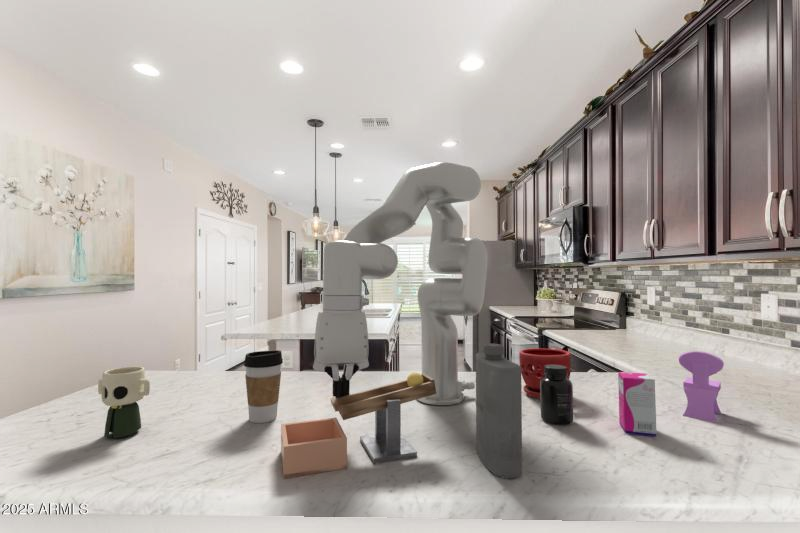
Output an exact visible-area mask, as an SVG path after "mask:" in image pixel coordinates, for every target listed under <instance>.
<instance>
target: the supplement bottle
mask: <svg viewBox="0 0 800 533" xmlns="http://www.w3.org/2000/svg"><path fill="white" fill-rule="evenodd" d="M544 374H545V377H543V378H542V379H541V381H540V399H539V400H540V418H541V419H542V421H544V422H545V423H547V424H551V425H555V426H568V425H572V424H573V422H574V389H573V387H574V386H573V382H572V381H571V379H570V378H569V379H568V378H567V377H566V376H568V373H567V367H566V366H562V365H545V366H544Z"/></svg>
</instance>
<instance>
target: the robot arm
mask: <svg viewBox="0 0 800 533" xmlns="http://www.w3.org/2000/svg"><path fill="white" fill-rule="evenodd" d="M481 188H482V182H481V178H480V175H479V174H478V172H477V171H476V170H475V169H474V168H472V167H470V166H466V165H462V164H457V163H452V162H446V161H438V162H433V163H430V164H429V163H428V164H424V165H420V166H416V167H411V168H410V169H408V170H407V171H405V172H404V173H403V174H402V176H401V178H400V179H399V180H398V182H397V183H396V185H395V186H394V188H393V189H392V191H391V192H390V194H388V196H387V198H386V200H385V202H384V203H383V204H382V205H381V206H380V207H378V208H377V209H376V210H374V211H373V212H371V213H369V215H368V216H366V217H364V218H363V219H362V220H361V221H359V222H358V223H357V224H356V225H354V226H353V227H352V228H351V230H349V231H348V233H347V234H346V236H345V237H344V239H343V240H332V241H328V242H327V243H326V244H325V246H324V250H323V275H322V276H323V277H322V278H323V279H322V280H323V285H322V288H323V289H322V310H319V311H318V312H317V318H316V322H315V324H316V325H315V332H314V346H313V348H314V349H313V357H314V362H313V364H312V369H313V370H314V371H317V372H322V373H326V374H327V375H328V376H329V377H330V378H332V398H334V397H335V398H340V397H343V396H347V395H349V394H350V388H351V387H350V382H351V381H350V380H352V378H353V376H354V375H355V374H356V373H357V372H358V371H359V370H363V369H367V368H368V367H369V366H370V362H369V359H368V358H369V351H370V350H369V347H370V346H369V331H368V330H369V329H368V322H367V316H366V312H365V311H364V310H363V308H364V307H365V306H369V305H370V299H369V298H365V297H364V296H363V280H382V279H386V278H389V277H391V275H393V274H394V273H395V271H397V268H398V264H399V260H398V254H397V253H396V251H395V250H394V249H393V247H391V246H389V245H388V244H386V243H383V242H384V241H387V240H390V239H392V238H395V237H397V236H400V235H401V234H403V233H406V232H407V231H409V230H410V229H412V228H413V227H414V226H415V223H416V221H417V220H418V218H419V216H420V215H421V213H422V211H423V210H424V207H426V209H427V210H428V213H429V215H430V218H431V226H432V227H431V235H430V242H429V250H428V260H427V261H428V267H429V269H430V270H431V271H432V272H433V273H436V274H440V275H441V274H442V275H462V276H461V277H462V278H454V277H453V278H452V277H437V278H434V277H433V278H429V279H427V280H425V281H423V282H422V283H421V284H420V286H419V287H418V290H417V302H418V307H419V308H418V309H419V313H420V320H421V323H420V325H421V326H420V327H421V374H423V373H424V374H426V375H428V376H429V377H431V378H433V379H434V381H435V388H436V394H434V395H431V396H427V397H424V398H420V399H417V400H416V401H419V402H420V403H423V404H426V405H427V404H428V405H433V406H451V405H457V404H459V403H462V402H463V401H464V398H465V395H464V394H465V393H464V391H465V390H474V389H475V388H476V384H475V382H474V381H465V380H460V379H458V378H459V373H458V372H459V371H458V370H459V369H458V368H459V366H458V364H459V362H458V360H459V354H458V353H459V352H458V351H459V350H458V347H459V346H458V345H459V344H458V343H459V341H458V339H459V338H458V337H459V334H458V328H457V326H456V322H455V321H454V319H453V317H452V316H460V317H474V316H476V315H478V314H479V313H480V312H481V310H482V308H483V305H484V300H485V291H486V283H487V282H486V281H487V271H488V251H487V248H486V245H485V243H484V242H483V241H482V240H481V239H480V238H477V237H469V236H468V237H463V232H464V221H463V219H462V217H461V215H460V213H459V212H458V211H457V210H456V208H454V206H453V205H452V204H456V203H463V202H471V201H473V200H476V198H477V197H478V196H479V194H480V192H481ZM339 365H343V372H342V374H341V376H340V372H339Z"/></svg>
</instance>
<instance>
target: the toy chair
mask: <svg viewBox="0 0 800 533" xmlns="http://www.w3.org/2000/svg"><path fill="white" fill-rule="evenodd" d="M678 362H679V364H680V366H681V367H683V369H685V370H686V371H687V372H690V373H691V374H692V377H690V376H687V377H686V379H684V381H683V383H682V384H683V386H682V387H683V388H682V389H683V392H684V394H685V396H686V399H687V405H686V408H685V411H684V413H683V414H682V415H683V417H688V418H693V419H696V420H697V419H698V420H701V421H706V422H713V423H719V421H718V418H717V416H716V414H721V413H722V412H721V410H720V407H719V404H718V400H717V398H718V396H719V393H720V390H721V388H722V386H721V384H722V383H721V381H719V380H718V381H717V380H710V376H713V375H716V374H717V373H718V372H721V371H722V370H723V368H724V367H725V366H724V365H725V364H724V361H723V359H721V357H719V356H717V355H714V354H713V353H709V352H706V351H698V350H692V351H691V350H690V351H686V352H683V353H681V354H680V355H679V356H678ZM715 413H716V414H715Z"/></svg>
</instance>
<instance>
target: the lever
mask: <svg viewBox="0 0 800 533" xmlns="http://www.w3.org/2000/svg"><path fill="white" fill-rule="evenodd" d="M421 375H422V377H423V380H424V382H423V384H419V385H416V386H412V387H409V386H408V384H407V379H405V380H401V381H397V382H393V383H389V384H385V385H382V386H379V387H375V388H372V389H371V388H370V389H366V390H363V391H359V392H355V393H352V394H351V393H349V395H347V396H343V397H340V398H335V397H331V398H330V404H331V406H332V407H333V410H334V411H335V412H338V413H339V414H340V417H341V419H342V420H343V421H345V420H349V419H353V418H356V417H357V418H358V417H360V416H364V415H367V414H371V413H375V411H378V410H382V409H385V408H386V400H391V399H400V400H401V405H403V404H406V403H409V402H413V401H418V400H417V399H420V398H424V397H427V396H431V395H434V394H436V388H435V381H434V379H433V378H431V377H429V376H428V375H426V374H424V373H423V374H422V373H421Z"/></svg>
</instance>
